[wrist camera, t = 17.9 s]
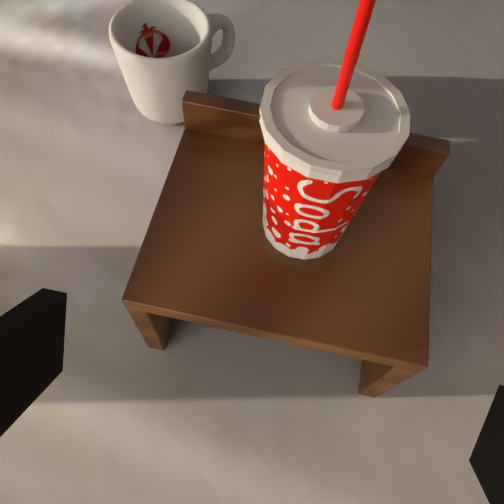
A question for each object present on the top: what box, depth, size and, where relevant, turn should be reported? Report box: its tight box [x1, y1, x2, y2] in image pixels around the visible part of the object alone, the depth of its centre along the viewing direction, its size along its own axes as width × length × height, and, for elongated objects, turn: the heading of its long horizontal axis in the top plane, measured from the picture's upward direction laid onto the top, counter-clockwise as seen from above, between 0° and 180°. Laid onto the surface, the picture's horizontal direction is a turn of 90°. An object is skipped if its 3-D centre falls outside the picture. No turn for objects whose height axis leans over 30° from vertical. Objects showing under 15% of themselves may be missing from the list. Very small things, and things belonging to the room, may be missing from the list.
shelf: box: [122, 90, 450, 397], centre depth 29 cm, size 16×13×11 cm
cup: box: [109, 0, 235, 124], centre depth 39 cm, size 11×8×8 cm
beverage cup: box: [259, 0, 410, 260], centre depth 20 cm, size 6×6×14 cm
